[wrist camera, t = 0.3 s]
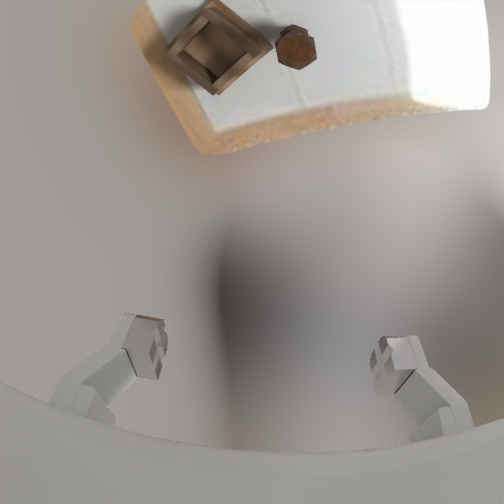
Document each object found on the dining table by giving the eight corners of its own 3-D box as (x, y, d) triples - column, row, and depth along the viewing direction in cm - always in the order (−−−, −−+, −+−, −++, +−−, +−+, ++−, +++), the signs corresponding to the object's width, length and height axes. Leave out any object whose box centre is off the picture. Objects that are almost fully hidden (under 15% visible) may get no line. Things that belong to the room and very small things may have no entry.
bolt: (277, 21, 40) (272, 33, 30) (306, 18, 38) (312, 29, 29) (283, 50, 44) (280, 72, 35) (311, 47, 43) (318, 69, 33)
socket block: (215, -3, 37) (207, -1, 33) (273, 47, 44) (271, 53, 40) (166, 50, 45) (154, 57, 41) (220, 93, 52) (213, 104, 48)
